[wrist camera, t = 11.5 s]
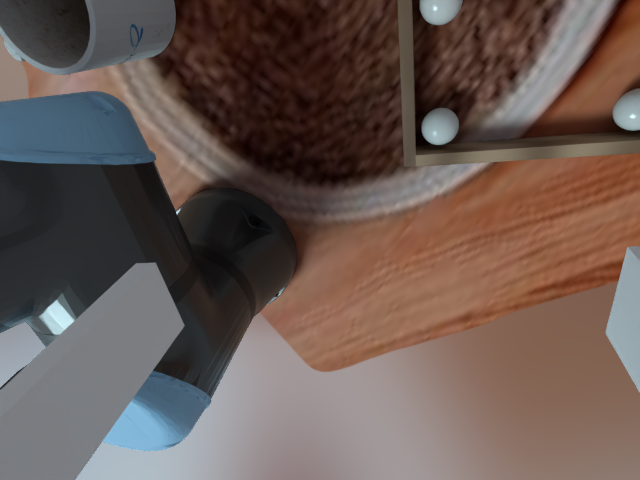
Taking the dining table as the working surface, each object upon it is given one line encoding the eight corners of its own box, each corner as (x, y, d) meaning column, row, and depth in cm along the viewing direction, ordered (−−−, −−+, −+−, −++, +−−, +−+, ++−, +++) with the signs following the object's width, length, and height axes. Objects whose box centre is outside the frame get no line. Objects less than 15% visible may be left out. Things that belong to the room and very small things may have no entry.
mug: (146, -74, 31) (45, -101, 22) (191, 43, 35) (118, 57, 26) (38, -22, 35) (-83, -30, 26) (89, 77, 38) (-2, 98, 30)
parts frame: (405, 157, 36) (404, 167, 34) (397, -40, 28) (395, -43, 26) (664, 140, 30) (681, 150, 28) (739, -108, 23) (770, -119, 21)
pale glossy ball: (421, 140, 34) (421, 151, 32) (421, 105, 33) (421, 114, 30) (456, 137, 34) (459, 148, 31) (458, 102, 32) (461, 110, 30)
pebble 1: (419, 26, 30) (419, 29, 28) (419, -19, 29) (418, -21, 26) (460, 20, 29) (464, 22, 27) (462, -27, 28) (466, -30, 25)
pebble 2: (602, 126, 31) (618, 137, 28) (610, 86, 29) (628, 94, 27) (646, 122, 30) (666, 133, 27) (657, 82, 28) (680, 89, 26)
